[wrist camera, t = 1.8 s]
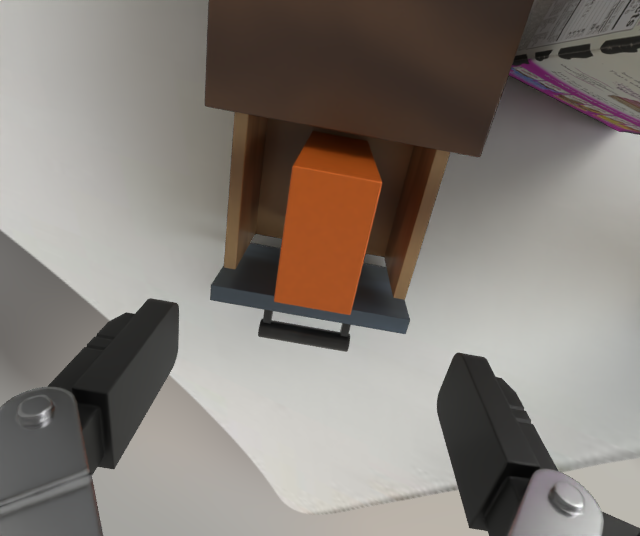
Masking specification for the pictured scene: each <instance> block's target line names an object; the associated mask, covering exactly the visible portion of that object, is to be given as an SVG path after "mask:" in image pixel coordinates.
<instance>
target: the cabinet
mask: <svg viewBox="0 0 640 536" xmlns="http://www.w3.org/2000/svg"><path fill="white" fill-rule="evenodd" d="M533 2H534V0H209V4H208V30H207V56H206V83H205V106H206V107H211V108H217V109H222V110H227V111H233V112H238V113H243V114H249V115H254V116H259V117H265V118H270V119H276V120H281V121H286V122H292V123H297V124H302V125H308V126H313V127H318V128H324V129H329V130H334V131H340V132H345V133H350V134H356V135H361V136H366V137H372V138H377V139H383V140H388V141H393V142H399V143H404V144H409V145H415V146H420V147H425V148H431V149H436V150H441V151H447V152H452V153H457V154H463V155H468V156H473V157H480V156H481V154H482V151H483V148H484V145H485V142H486V139H487V136H488V133H489V131H490V128H491V125H492V122H493V119H494V116H495V113H496V110H497V107H498V104H499V101H500V99H501V96H502V93H503V90H504V87H505V84H506V81H507V78H508V75H509V72H510V69H511V66H512V64H513V61H514V58H515V55H516V52H517V49H518V46H519V43H520V40H521V37H522V34H523V32H524V29H525V26H526V23H527V20H528V17H529V14H530V11H531V8H532V5H533Z"/></svg>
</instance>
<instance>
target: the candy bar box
mask: <svg viewBox="0 0 640 536" xmlns="http://www.w3.org/2000/svg"><path fill="white" fill-rule="evenodd" d="M509 76H511V77H513V78H515V79H517V80H519V81H521V82H523V83H525V84H527V85H529V86H531V87H533V88H535V89H537V90H539V91H541V92H543V93H545V94H547V95H549V96H551V97H553V98H555V99H557V100H559V101H561V102H563V103H565V104H567V105H568V106H570V107H572V108H574V109H576V110H578V111H580V112H582V113H584V114H586V115H588V116H590V117H592V118H594V119H596V120H598V121H600V122H602V123H604V124H605V125H607V126H609V127H611V128H613V129H615V130H617V131H619V132H628V133H633V134H639V135H640V0H534V2H533V5H532V8H531V11H530V14H529V17H528V20H527V23H526V26H525V29H524V32H523V34H522V37H521V40H520V43H519V46H518V49H517V52H516V55H515V58H514V61H513V64H512V66H511V69H510V72H509Z"/></svg>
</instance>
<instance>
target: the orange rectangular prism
mask: <svg viewBox="0 0 640 536" xmlns="http://www.w3.org/2000/svg"><path fill="white" fill-rule="evenodd" d="M381 188H382V180H381V177H380V174H379V172H378V169H377V166H376V163H375V160H374V158H373V155H372V152H371V149H370V146H369V143H368V141H365V140H359V139H354V138H349V137H343V136H338V135H333V134H327V133H322V132H317V131H312V133H311V135H310V137H309V138H308V140H307V142H306V144H305V145H304V147H303V149H302V151H301V152H300V154H299V156H298V158H297V159H296V161H295V163H294V165H293V166H292V172H291V179H290V186H289V193H288V201H287V208H286V215H285V222H284V230H283V237H282V244H281V251H280V259H279V266H278V273H277V280H276V287H275V295H274V302H278V303H283V304H289V305H295V306H301V307H306V308H312V309H318V310H323V311H329V312H335V313H340V314H346V315H350V314H351V311H352V307H353V303H354V299H355V295H356V290H357V286H358V282H359V278H360V274H361V270H362V266H363V262H364V258H365V253H366V249H367V245H368V241H369V237H370V233H371V229H372V225H373V221H374V216H375V212H376V208H377V204H378V200H379V196H380V192H381Z"/></svg>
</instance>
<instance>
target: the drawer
mask: <svg viewBox="0 0 640 536" xmlns="http://www.w3.org/2000/svg"><path fill="white" fill-rule="evenodd" d="M312 131H317V132H322V133H327V134H333V135H338V136H343V137H349V138H354V139H359V140H365V141H368V143H369V146H370V149H371V152H372V155H373V158H374V160H375V163H376V166H377V169H378V172H379V174H380V177H381V180H382V188H381V192H380V196H379V200H378V204H377V208H376V212H375V216H374V221H373V225H372V229H371V233H370V237H369V241H368V245H367V249H366V253H365V254H371V255H376V256H382V257H384V258H385V263H386V267H382V266H377V265H371V264H365V263H363V266H362V270H361V274H360V278H359V282H358V286H357V290H356V295H355V299H354V303H353V307H352V311H351V314H350V315H346V314H340V313H335V312H329V311H323V310H318V309H312V308H306V307H301V306H295V305H289V304H283V303H278V302H274V295H275V287H276V280H277V273H278V266H279V259H280V251H281V248H276V247H270V246H265V245H259V244H254V243H250V242H251V241H252V239H253V237H254V235H255V234H259V235H265V236H270V237H276V238H282V237H283V230H284V222H285V215H286V208H287V201H288V193H289V186H290V179H291V172H292V166H293V165H294V163H295V161H296V159H297V158H298V156H299V154H300V152H301V151H302V149H303V147H304V145H305V144H306V142H307V140H308V138H309V137H310V135H311V133H312ZM449 155H450V152H447V151H441V150H436V149H431V148H425V147H420V146H415V145H409V144H404V143H399V142H393V141H388V140H383V139H377V138H372V137H366V136H361V135H356V134H350V133H345V132H340V131H334V130H329V129H324V128H318V127H313V126H308V125H302V124H297V123H292V122H286V121H281V120H276V119H270V118H265V117H259V116H254V115H249V114H243V113H238V112H235V114H234V128H233V142H232V156H231V171H230V185H229V199H228V214H227V228H226V242H225V256H224V266H223V267H222V269H221V270H220V272H219V274H218V275H217V277H216V278H215V280H214V281H213V283H212V285H211V295H210V300H213V301H219V302H225V303H230V304H236V305H242V306H247V307H253V308H259V309H265V310H264V318H263V319H261V322H260V326H259V332H258V336H259V337H264V338H270V339H276V340H281V341H287V342H293V343H299V344H304V345H310V346H316V347H322V348H328V349H333V350H339V351H345V352H347V351H348V348H349V342H350V334H349V330H350V325H356V326H362V327H368V328H373V329H379V330H385V331H390V332H396V333H402V334H406V331H407V328H408V325H409V322H410V318H409V314H408V311H407V307H406V303H405V297H406V294H407V291H408V288H409V284H410V281H411V278H412V275H413V271H414V268H415V265H416V262H417V259H418V255H419V252H420V249H421V246H422V242H423V239H424V236H425V233H426V229H427V226H428V223H429V220H430V216H431V213H432V210H433V207H434V203H435V200H436V197H437V194H438V191H439V187H440V184H441V181H442V178H443V174H444V171H445V168H446V165H447V161H448V158H449ZM273 311H276V312H282V313H287V314H293V315H299V316H305V317H310V318H316V319H322V320H328V321H333V322H339V323H342V326H341V330H340V332H336V331H330V330H324V329H319V328H313V327H307V326H301V325H296V324H290V323H284V322H279V321H273V320H272V314H273Z"/></svg>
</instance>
